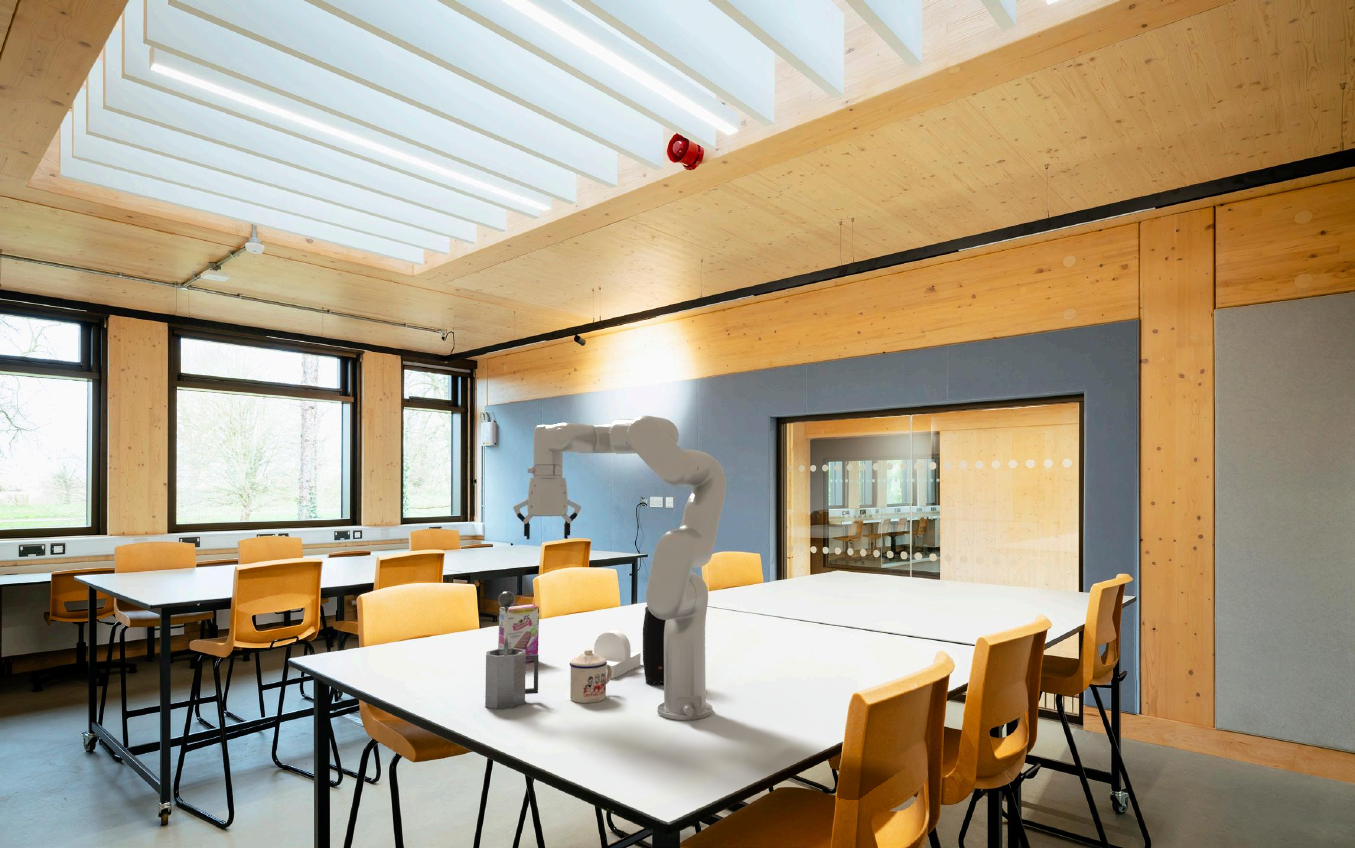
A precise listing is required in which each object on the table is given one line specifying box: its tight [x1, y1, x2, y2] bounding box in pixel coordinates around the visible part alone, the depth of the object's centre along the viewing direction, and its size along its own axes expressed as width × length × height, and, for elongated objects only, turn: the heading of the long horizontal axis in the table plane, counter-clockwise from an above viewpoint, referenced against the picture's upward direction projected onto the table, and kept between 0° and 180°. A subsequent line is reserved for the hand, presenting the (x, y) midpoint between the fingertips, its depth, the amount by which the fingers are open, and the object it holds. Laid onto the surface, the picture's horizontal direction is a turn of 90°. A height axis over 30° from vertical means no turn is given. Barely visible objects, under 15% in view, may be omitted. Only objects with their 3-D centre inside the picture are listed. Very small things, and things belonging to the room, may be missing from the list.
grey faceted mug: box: [484, 648, 539, 710], centre depth 179 cm, size 9×12×12 cm
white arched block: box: [593, 629, 641, 679], centre depth 212 cm, size 18×10×11 cm, turn 158°
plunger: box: [497, 590, 516, 656], centre depth 180 cm, size 6×6×16 cm
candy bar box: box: [497, 604, 540, 663], centre depth 222 cm, size 11×5×16 cm, turn 130°
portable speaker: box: [642, 605, 666, 686], centre depth 198 cm, size 9×9×20 cm
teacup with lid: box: [569, 648, 612, 704], centre depth 184 cm, size 12×9×12 cm
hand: (547, 538), depth 192 cm, fingers open, 9 cm apart
